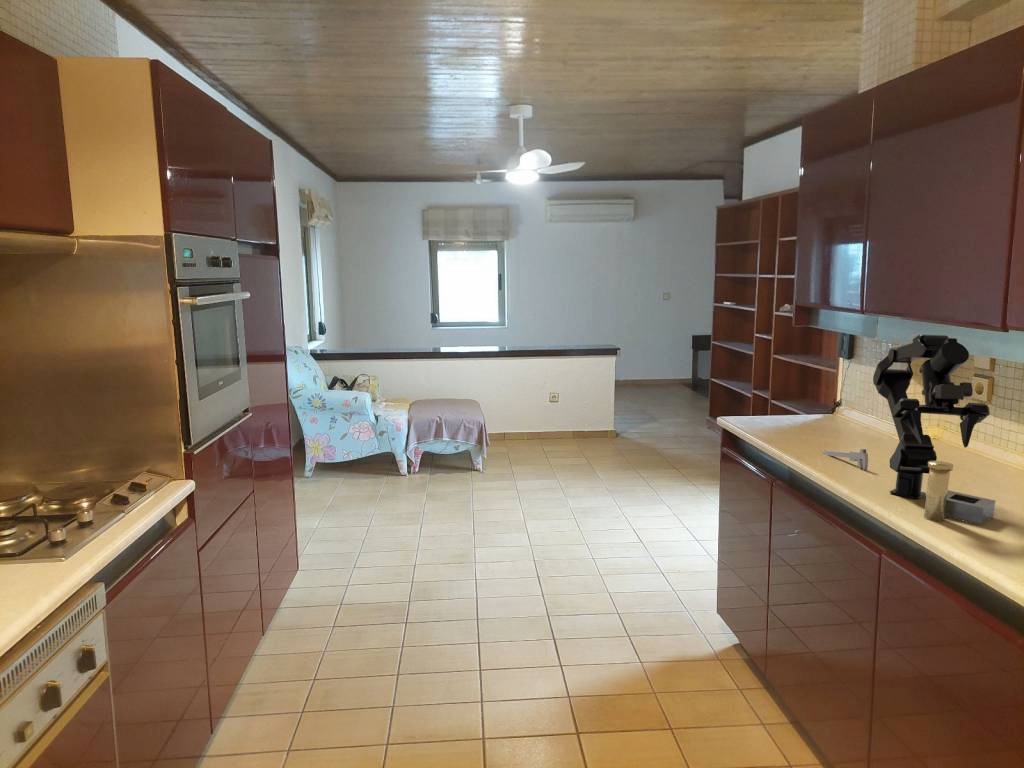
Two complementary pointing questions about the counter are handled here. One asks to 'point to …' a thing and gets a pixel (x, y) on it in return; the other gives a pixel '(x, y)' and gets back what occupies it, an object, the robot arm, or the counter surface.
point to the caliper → (852, 457)
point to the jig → (969, 507)
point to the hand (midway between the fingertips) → (943, 445)
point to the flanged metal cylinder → (937, 490)
